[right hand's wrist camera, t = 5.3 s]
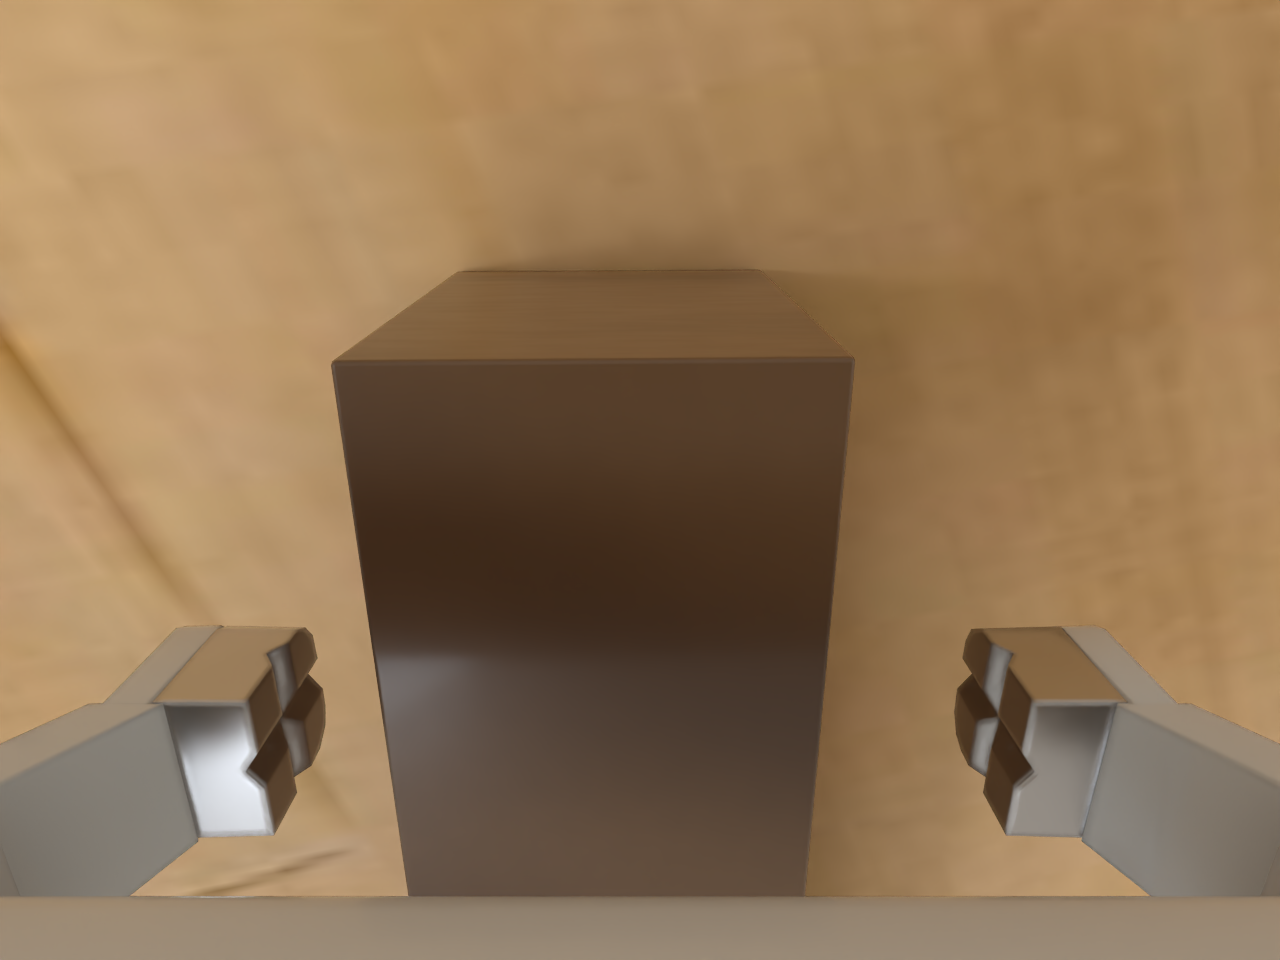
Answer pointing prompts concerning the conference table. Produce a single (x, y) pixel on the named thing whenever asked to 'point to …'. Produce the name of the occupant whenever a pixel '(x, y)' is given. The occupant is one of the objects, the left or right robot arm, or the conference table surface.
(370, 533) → the post
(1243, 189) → the conference table surface
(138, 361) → the conference table surface
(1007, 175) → the conference table surface
